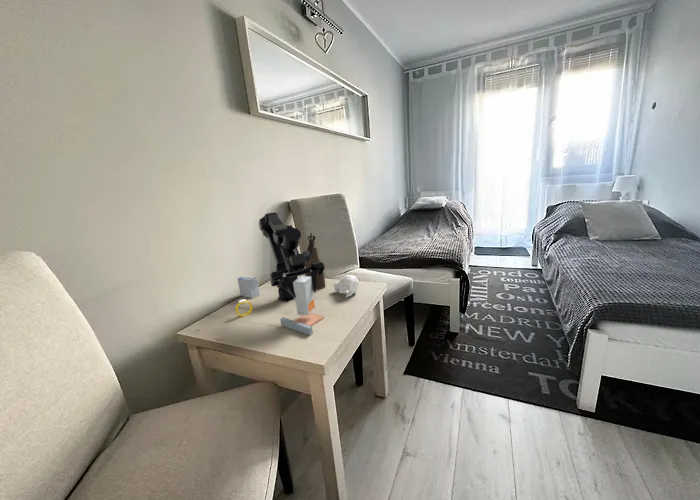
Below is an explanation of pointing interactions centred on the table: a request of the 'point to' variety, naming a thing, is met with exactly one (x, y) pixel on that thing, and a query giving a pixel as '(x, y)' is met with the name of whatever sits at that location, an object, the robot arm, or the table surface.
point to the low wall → (296, 326)
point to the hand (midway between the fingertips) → (305, 295)
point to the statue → (314, 261)
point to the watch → (242, 303)
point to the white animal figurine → (347, 285)
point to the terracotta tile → (309, 319)
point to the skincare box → (304, 295)
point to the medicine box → (248, 286)
